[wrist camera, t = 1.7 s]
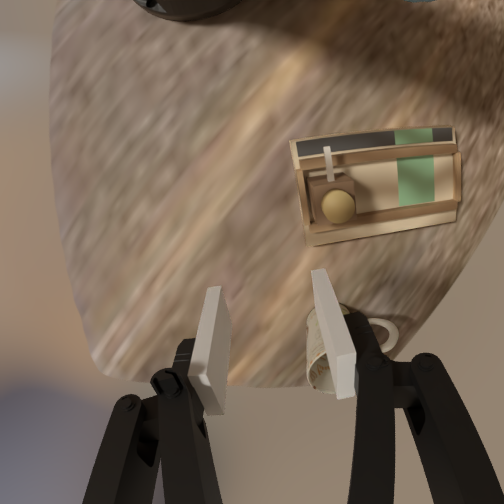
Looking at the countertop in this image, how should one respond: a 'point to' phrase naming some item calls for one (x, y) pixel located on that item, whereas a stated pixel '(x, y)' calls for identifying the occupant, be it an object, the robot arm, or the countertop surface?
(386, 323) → the mug
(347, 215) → the slider knob
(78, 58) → the countertop surface
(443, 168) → the tuner board
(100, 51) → the countertop surface
